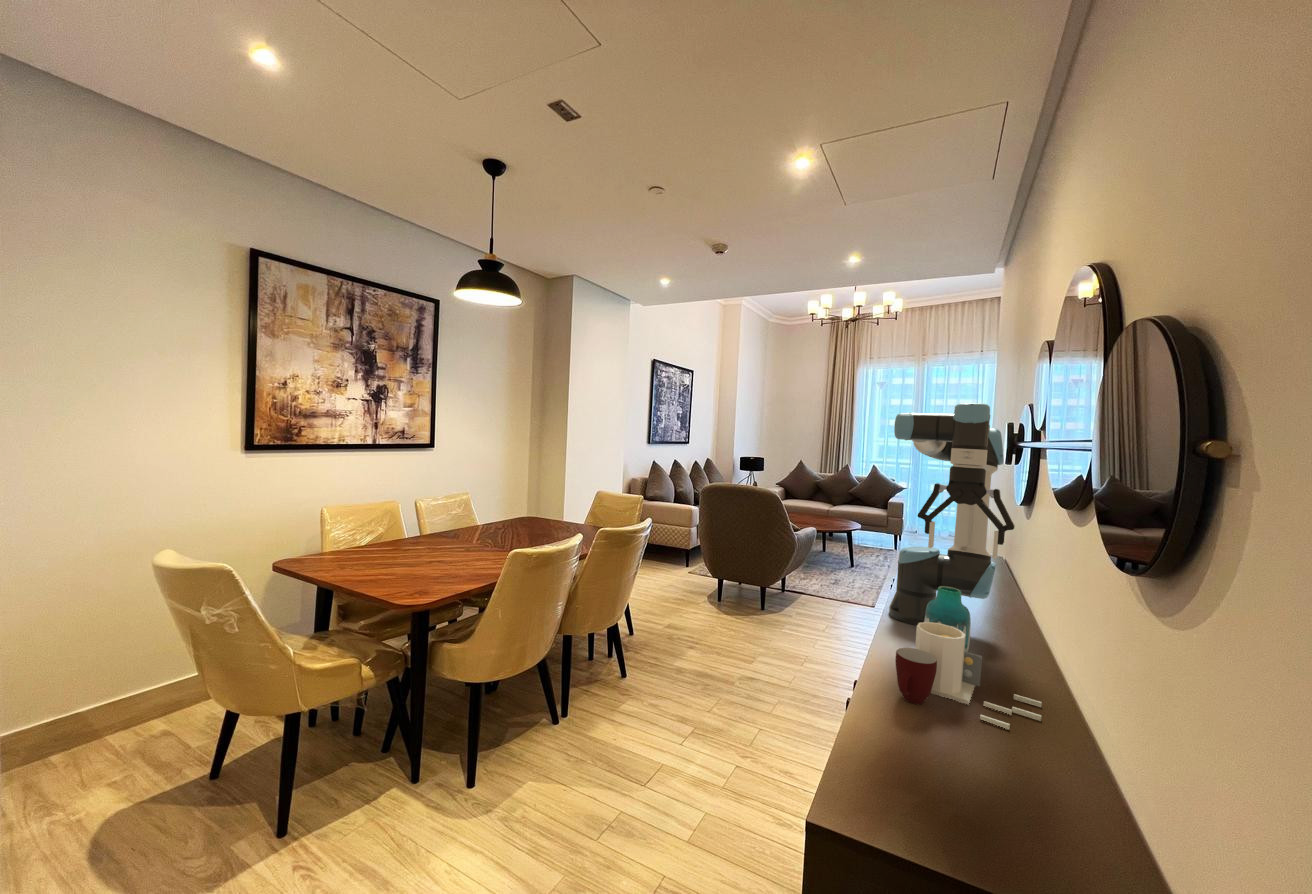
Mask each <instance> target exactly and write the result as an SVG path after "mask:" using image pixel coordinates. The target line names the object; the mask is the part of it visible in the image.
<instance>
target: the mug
mask: <svg viewBox="0 0 1312 894" xmlns="http://www.w3.org/2000/svg"><path fill="white" fill-rule="evenodd" d="M895 670H896V679H897V680H896V681H897V686H898V688H899V689H898V690H899V691H900V693H901V695H902V697H903V699H904V700H905V701H906V702H908V703H911V704H914V705H922V704H924V703H925V701H926V700H927V699H928V698H929V696H930V694H932V693H931V690H932V686H933V683H934V679H935V675H936V670H937V659H936V658H935V657H934V656H933V655H931V654H929V653H927V652H925V651H922V650H918V649H915V648H914V647H913V648H912V647H901V648H897V649H896V652H895Z"/></svg>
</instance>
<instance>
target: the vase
mask: <svg viewBox="0 0 1312 894" xmlns="http://www.w3.org/2000/svg"><path fill="white" fill-rule="evenodd" d="M924 622H932V623H940V624H944V625H948V626H951V627H954V628H956V629H959V630H961V631H962V632H963V633H964V634H966V635H965V649H964V651H965V652H969V648H970V642H971V641H970V640H971V629H972V627H971V625H972V624H971V613H970V611H969V608H967V606H966V605H964V604H963V603H962V595H961V591H960V590H959V589H956V588H953V587H947V586H940V587H938V591H937V592H936V599H934V600H931V601H930V602H929V603H928V604H927V607H926V611H925V619H924Z"/></svg>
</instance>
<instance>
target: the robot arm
mask: <svg viewBox="0 0 1312 894" xmlns="http://www.w3.org/2000/svg"><path fill="white" fill-rule="evenodd" d="M990 420H991V407H990V405H989V404H987V403H978V402H977V403H973V402H970V403H968V402H967V403H963V402H962V403H958V404H956V405H955V406H954V412H953V413H927V412H926V413H925V412H924V413H921V412H919V413H918V412H900V413H898V414H897V415H896V416H895V420H894V428H893V429H894V438H896V439H897V440H904V441H912V442H913V445H914V447H915V449H916V450H917V451H918V452H919V453H921V454H923V455H924V456H927V457H929V458H932V459H936V460H938V461H944V462H950V464H951V465H952V466H951V467H949V476H948V477H949V479H948V484H947V485H946V484H941V483H939V482H938V483H937V482H936V483H935V484H934V485H933V488H932V489H933V490H932V493H931V494H930V495H929V497H928V498H927V500H926V501H925V503H924V504H923V506H922V507H921V509H920V510H919V512H918V513H917V517H918V518H920V519H922V520H924V533H925V534H927V535H928V541H927V542H928V545H927V546H907V547H903V548H902V549H900V550H899V553H898V560H897V566H898V567H897V574H896V576H897V577H896V578H897V579H896V590H895V593H894V595H893V598H892V600H891V602H890V604H889V608H888V609H889V610H888V614H889V616H890V617H892V618H894V619H895V620H897V621H900V622H903V623H906V624H908V625H909V624H910V625H914V626H917V625H918V623H922V622H924V619H925V611H926V607H927V604H928V603H929V602H930V601H931V600H934V599H936V597H937V591H938V587H940V586H947V587H953V588H956V589H959V590H960V591H961V597H966V598H970V599H971V598H973V599H978V600H979V599H980V600H985V599H987V598H988V597H990V593H991V589H992V585H993V580H994V576H995V571H996V567H997V563H996V562H995V561H992V559H995V560H996V559H997V558H998V551H999V546H1003V545H1004V543H1005V534H1006V532H1007V531H1012V530H1014V529H1015V524H1014V522H1013V519H1012V518H1011V516H1010V514H1009V512H1008V510H1007V508H1006V506H1005V503H1004V502H1003V500H1002V499H1001V490H1000V489H999V488H994V489H993V488H991V485H992V484H991V483H992V475H993V474H994V473H995V472H997V471H998V467H999V466H1002V465H1003V464H1004V460H1005V459H1004V447H1003V438H1002V437H1003V436H1002V433H1001V430H999V429H997V428H993V427H990ZM944 491H946V492H947V493H948V495H949V497H948V498H947V499H945V500H944V501H943V502H942V503H940V505H939V506H937V507H936V508H935V509H934V510H932V512H931V513H929V514H927V513H928V511H929V510H930V509H931V507H932V505H933V504H934V503H935V501H936V499H938V496H939V495H940V493H943V492H944ZM990 499H993V501H994V503H995V504H996V507H997V509H998V511H999V512H1000V515H1001V517H1002V519H1003V522H1004V523H1005V524H1003V523H1002V522H1001V521H1000V519H999V518H998V517H997V516H996V515H995V513H994V512H993V511H992V510H991V509H990ZM953 503H956V504H957V505H956V513H955V514H956V517H955V527H954V536H953V537H954V540H953V545H952V546H950V547H949V548H948V549H947V554H944V553H943V554H942V553H941V551H940V549H939V548H937V547H934V545H935V543H934V542H935V529H936V528H935V527H936V521H933V520H934V518H936V517H937V516H938V515H939V514H940V513H942V512H943V511H944V510H945V509H946V508H947V507H949V506H950V505H952V504H953ZM989 521H990V522H991V523H992V524H993V525H994V526H995V527H996V529H995V530H994V532H993V546H992V547H993V548H992V555H991V554H990V553H989V552H988V551H987V536H988V526H989V525H988V523H989Z"/></svg>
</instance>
